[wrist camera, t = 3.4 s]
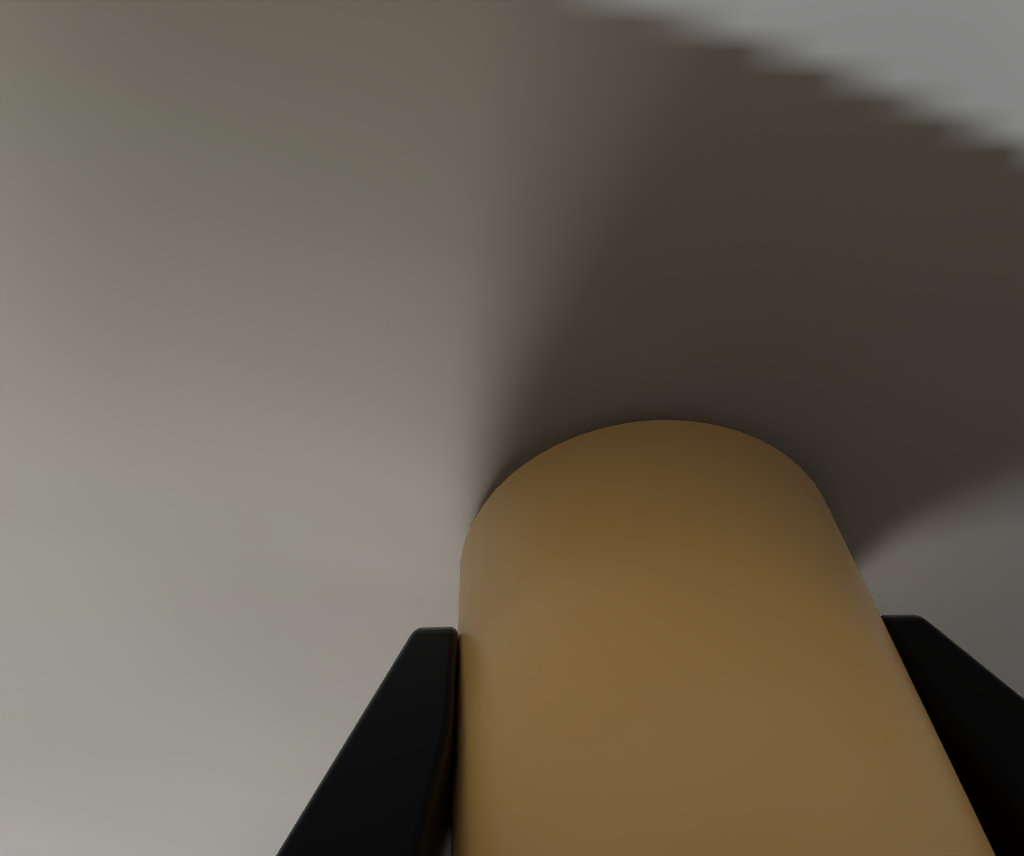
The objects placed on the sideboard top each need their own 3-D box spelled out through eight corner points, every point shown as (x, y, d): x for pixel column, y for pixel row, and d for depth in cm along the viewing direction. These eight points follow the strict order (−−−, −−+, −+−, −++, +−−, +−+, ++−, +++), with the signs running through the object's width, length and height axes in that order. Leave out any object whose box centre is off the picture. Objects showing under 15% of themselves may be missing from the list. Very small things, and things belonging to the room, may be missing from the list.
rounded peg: (467, 705, 11) (457, 1242, 7) (449, 423, 9) (419, 968, 5) (803, 696, 11) (990, 1224, 7) (869, 414, 9) (1198, 945, 5)
